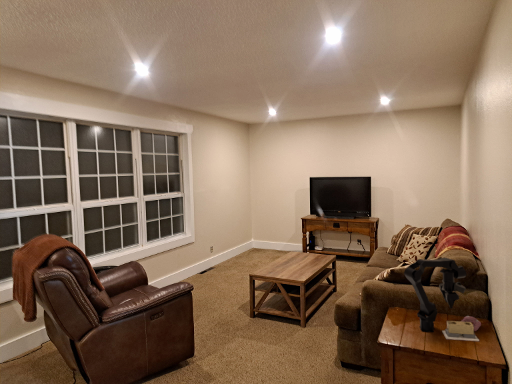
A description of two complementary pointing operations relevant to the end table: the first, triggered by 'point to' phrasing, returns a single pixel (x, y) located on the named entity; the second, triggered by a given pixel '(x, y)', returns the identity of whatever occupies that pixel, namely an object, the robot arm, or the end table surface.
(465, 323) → the gold cutout plate
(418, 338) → the end table surface
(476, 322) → the video game controller
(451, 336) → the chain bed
